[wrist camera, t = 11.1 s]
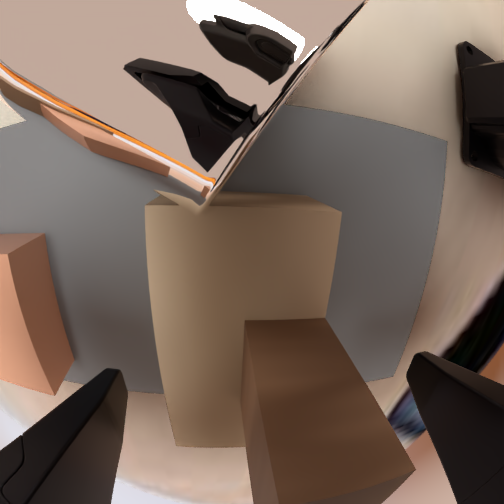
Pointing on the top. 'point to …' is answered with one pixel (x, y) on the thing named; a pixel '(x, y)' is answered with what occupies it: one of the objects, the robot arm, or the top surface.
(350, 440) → the two-tone stepped block
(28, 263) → the tile
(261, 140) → the slate board
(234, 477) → the top surface
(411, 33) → the top surface
